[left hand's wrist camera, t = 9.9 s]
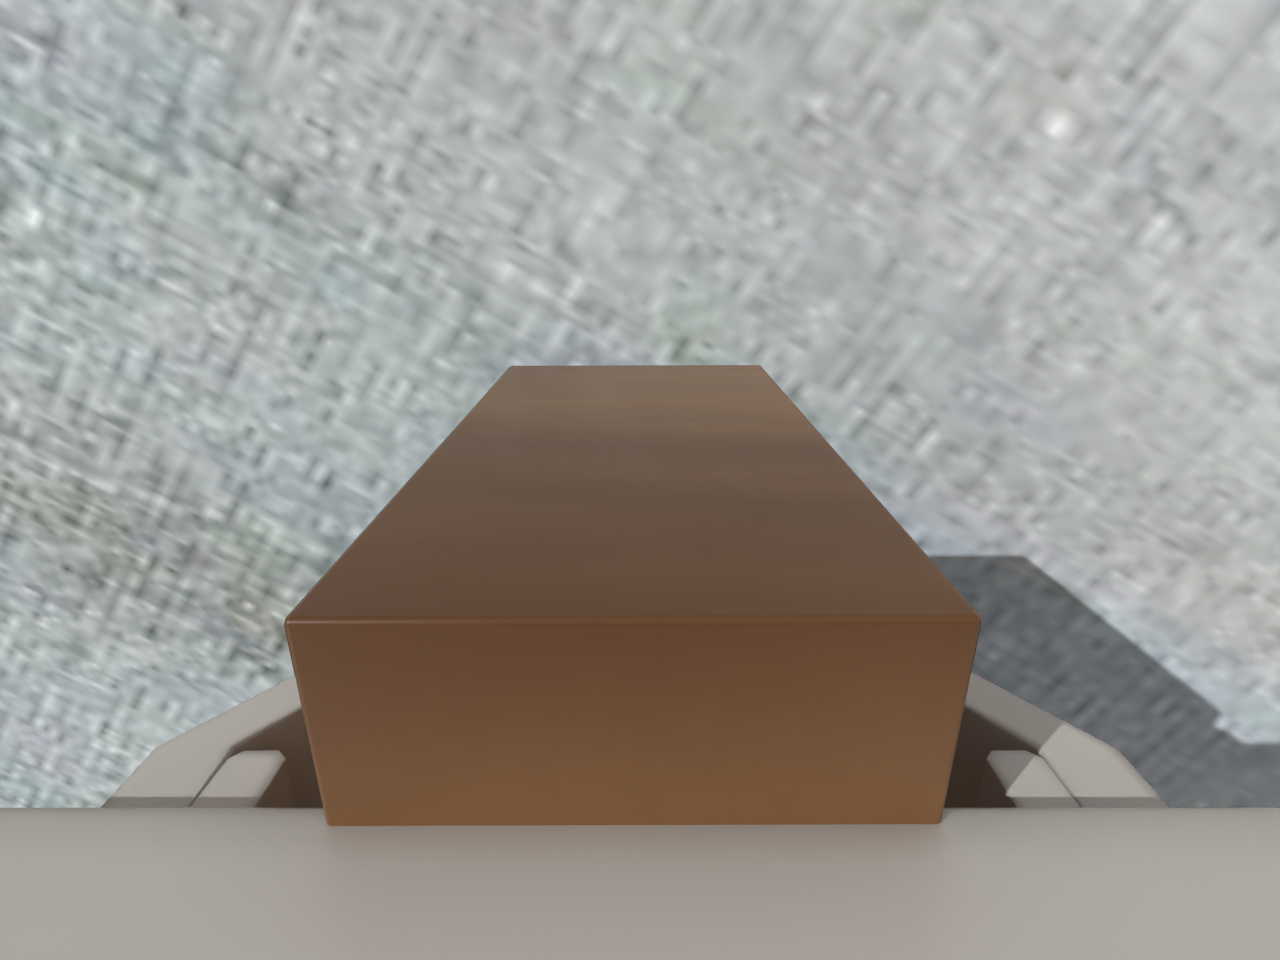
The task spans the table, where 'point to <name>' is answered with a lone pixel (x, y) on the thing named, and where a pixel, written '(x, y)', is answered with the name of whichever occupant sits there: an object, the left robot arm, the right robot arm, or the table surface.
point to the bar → (633, 622)
